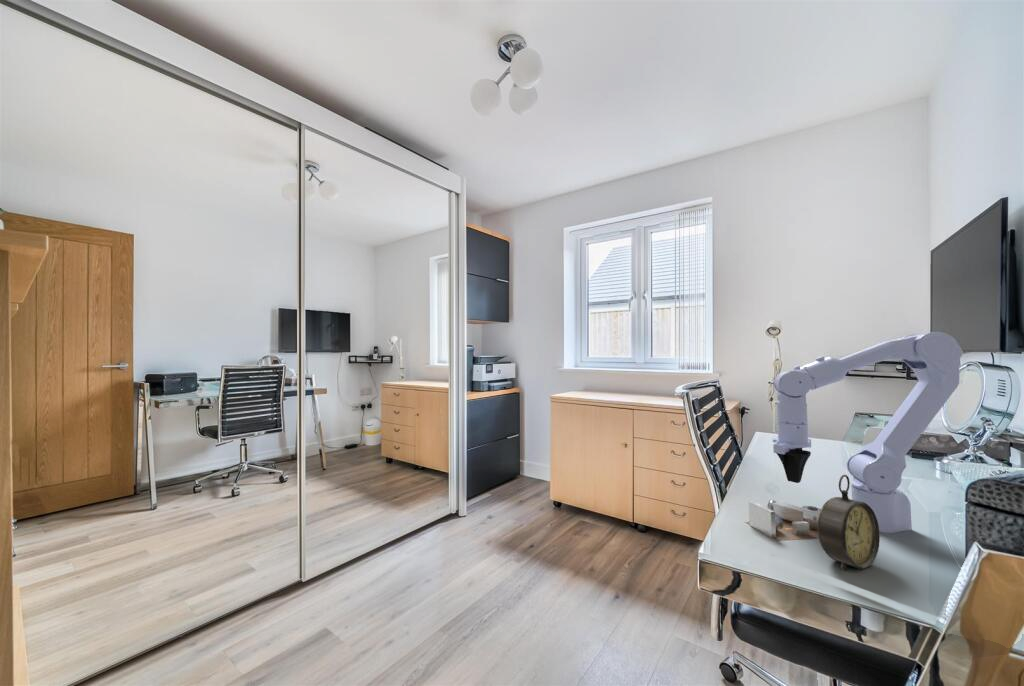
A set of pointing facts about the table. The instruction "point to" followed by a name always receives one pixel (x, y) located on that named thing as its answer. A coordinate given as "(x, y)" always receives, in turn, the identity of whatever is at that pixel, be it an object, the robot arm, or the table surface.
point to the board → (788, 535)
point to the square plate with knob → (772, 521)
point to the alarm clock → (848, 530)
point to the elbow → (796, 513)
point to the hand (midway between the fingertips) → (794, 481)
